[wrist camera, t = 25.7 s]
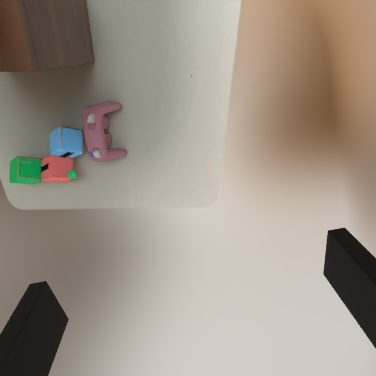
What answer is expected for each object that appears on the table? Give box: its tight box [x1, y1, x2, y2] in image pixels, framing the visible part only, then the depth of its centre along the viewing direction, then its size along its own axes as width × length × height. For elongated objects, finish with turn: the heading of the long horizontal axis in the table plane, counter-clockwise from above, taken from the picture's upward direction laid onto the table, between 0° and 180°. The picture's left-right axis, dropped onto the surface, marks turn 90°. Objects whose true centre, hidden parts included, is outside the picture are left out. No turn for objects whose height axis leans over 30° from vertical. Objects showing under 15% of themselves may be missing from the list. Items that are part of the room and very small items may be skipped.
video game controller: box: [82, 102, 127, 161], centre depth 45 cm, size 10×5×7 cm, turn 1°
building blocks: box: [10, 126, 83, 184], centre depth 45 cm, size 8×8×12 cm
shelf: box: [0, 0, 95, 72], centre depth 30 cm, size 14×9×22 cm, turn 90°
